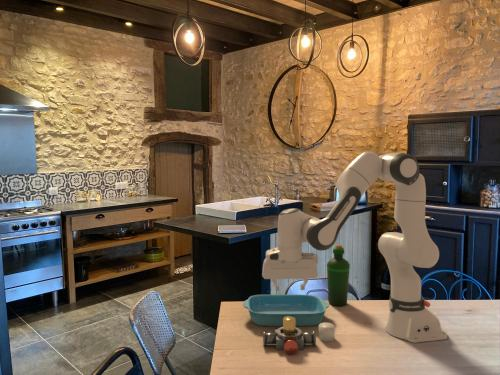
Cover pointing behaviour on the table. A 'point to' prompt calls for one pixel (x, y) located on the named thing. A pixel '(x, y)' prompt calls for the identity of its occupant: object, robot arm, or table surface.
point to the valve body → (289, 340)
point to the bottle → (338, 277)
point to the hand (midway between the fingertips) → (289, 289)
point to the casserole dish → (286, 309)
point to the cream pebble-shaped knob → (326, 332)
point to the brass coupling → (289, 325)
